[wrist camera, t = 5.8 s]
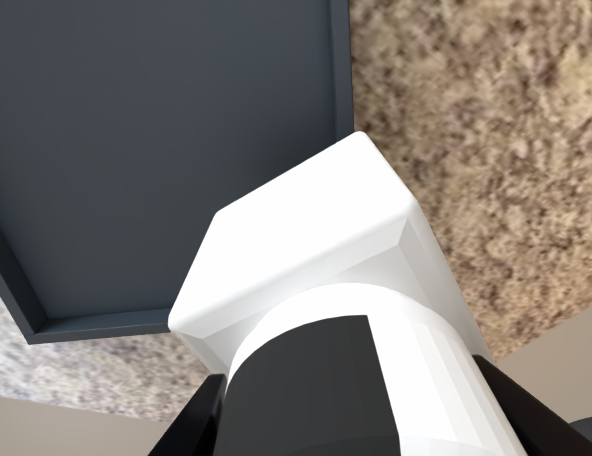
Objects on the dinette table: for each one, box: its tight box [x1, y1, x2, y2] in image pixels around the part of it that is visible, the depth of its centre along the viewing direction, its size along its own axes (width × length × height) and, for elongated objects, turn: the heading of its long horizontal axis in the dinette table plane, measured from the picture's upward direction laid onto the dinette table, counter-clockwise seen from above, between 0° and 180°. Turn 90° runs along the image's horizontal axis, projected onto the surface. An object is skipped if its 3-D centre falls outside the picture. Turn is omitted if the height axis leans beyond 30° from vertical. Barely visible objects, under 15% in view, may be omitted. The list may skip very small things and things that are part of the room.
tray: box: [0, 0, 354, 345], centre depth 19 cm, size 26×22×2 cm
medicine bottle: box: [168, 131, 528, 456], centre depth 11 cm, size 7×7×12 cm
